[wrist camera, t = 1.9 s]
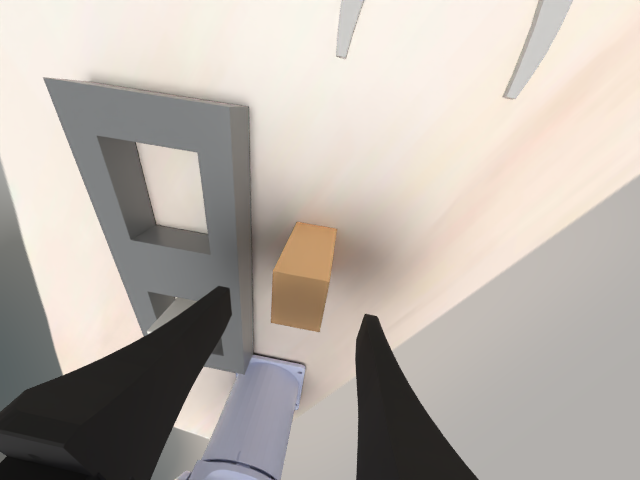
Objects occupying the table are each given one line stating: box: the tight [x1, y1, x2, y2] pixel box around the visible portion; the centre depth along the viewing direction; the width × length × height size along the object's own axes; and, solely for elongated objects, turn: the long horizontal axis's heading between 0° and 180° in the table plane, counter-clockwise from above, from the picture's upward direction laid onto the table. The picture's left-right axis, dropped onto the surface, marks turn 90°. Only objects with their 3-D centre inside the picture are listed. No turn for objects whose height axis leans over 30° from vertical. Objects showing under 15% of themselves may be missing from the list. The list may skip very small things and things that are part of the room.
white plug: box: [147, 297, 197, 334], centre depth 21 cm, size 4×3×5 cm
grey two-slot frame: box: [43, 77, 254, 375], centre depth 19 cm, size 24×10×2 cm, turn 172°
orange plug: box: [271, 222, 337, 332], centre depth 16 cm, size 4×3×6 cm
